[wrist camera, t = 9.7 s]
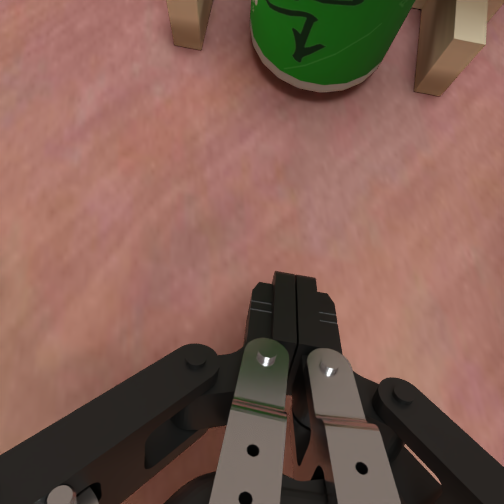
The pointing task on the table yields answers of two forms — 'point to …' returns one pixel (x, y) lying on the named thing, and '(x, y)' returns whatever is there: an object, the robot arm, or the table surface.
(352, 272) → the table surface
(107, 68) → the table surface
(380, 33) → the soda can
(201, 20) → the block
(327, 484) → the robot arm
